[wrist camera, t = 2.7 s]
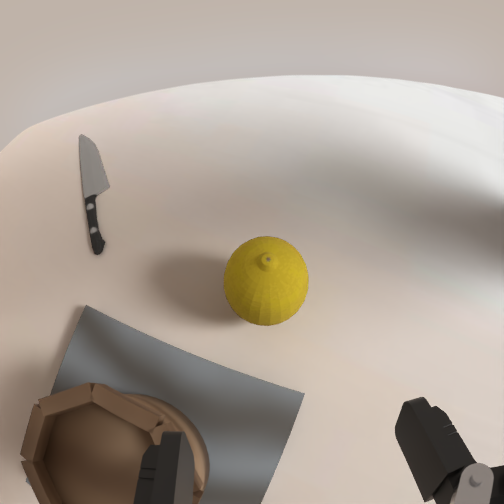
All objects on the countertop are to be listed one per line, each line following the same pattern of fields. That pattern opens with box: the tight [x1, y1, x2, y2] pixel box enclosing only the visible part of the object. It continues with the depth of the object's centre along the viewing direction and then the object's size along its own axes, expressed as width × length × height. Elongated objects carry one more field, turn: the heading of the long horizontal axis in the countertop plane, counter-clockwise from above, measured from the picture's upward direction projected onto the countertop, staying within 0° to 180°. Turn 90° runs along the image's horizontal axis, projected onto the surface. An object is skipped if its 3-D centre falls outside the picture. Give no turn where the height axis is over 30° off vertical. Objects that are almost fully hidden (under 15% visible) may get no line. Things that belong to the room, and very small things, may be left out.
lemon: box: [224, 236, 308, 326], centre depth 21 cm, size 6×6×8 cm
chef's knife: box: [79, 134, 110, 255], centre depth 30 cm, size 19×1×3 cm
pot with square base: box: [20, 305, 305, 504], centre depth 16 cm, size 18×18×9 cm
